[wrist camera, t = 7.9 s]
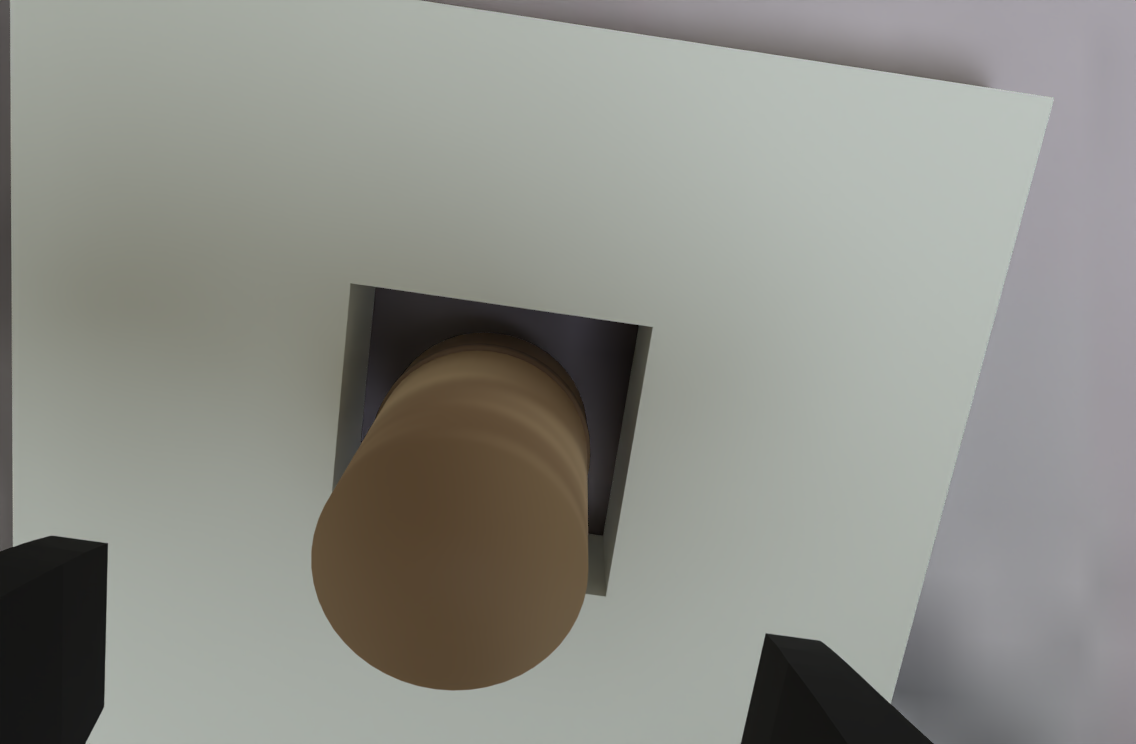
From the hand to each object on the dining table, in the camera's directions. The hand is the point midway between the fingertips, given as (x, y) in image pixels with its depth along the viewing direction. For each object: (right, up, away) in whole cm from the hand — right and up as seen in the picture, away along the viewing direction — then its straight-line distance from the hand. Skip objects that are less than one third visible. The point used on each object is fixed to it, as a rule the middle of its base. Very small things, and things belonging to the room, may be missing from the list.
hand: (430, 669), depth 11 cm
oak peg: (0, +3, +9) cm, 9 cm away
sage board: (0, +3, +9) cm, 9 cm away
